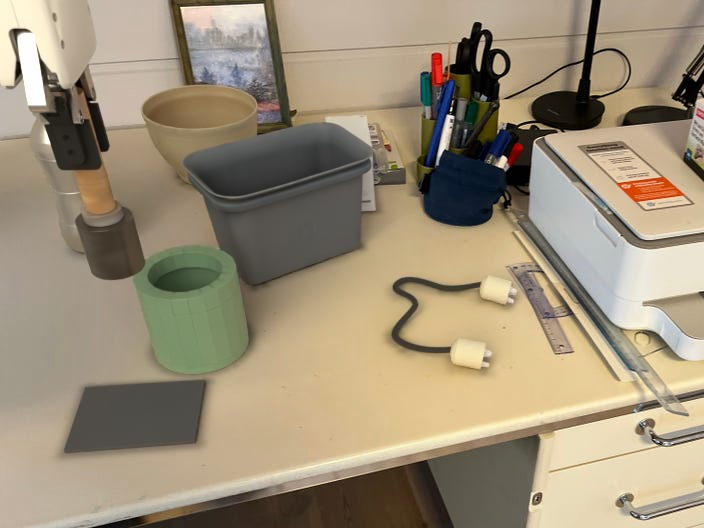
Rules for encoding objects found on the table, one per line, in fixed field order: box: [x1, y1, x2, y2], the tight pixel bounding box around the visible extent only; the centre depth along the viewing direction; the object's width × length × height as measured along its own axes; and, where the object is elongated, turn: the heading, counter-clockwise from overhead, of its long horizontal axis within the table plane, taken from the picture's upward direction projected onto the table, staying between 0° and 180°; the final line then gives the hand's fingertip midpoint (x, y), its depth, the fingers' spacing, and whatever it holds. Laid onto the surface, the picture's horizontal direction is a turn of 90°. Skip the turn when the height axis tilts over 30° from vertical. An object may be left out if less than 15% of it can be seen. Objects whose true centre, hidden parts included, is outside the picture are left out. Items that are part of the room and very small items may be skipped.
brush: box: [51, 87, 146, 281], centre depth 63 cm, size 5×5×16 cm
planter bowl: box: [140, 84, 259, 185], centre depth 113 cm, size 16×16×11 cm
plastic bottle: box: [28, 112, 85, 254], centre depth 93 cm, size 6×7×20 cm
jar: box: [132, 244, 250, 375], centre depth 82 cm, size 10×10×10 cm
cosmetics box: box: [324, 114, 377, 212], centre depth 110 cm, size 10×6×10 cm, turn 11°
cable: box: [391, 274, 518, 370], centre depth 90 cm, size 16×16×4 cm
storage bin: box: [181, 121, 375, 286], centre depth 96 cm, size 21×16×14 cm
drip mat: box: [63, 379, 206, 454], centre depth 76 cm, size 12×9×1 cm
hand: (85, 157), depth 61 cm, fingers closed on brush, 2 cm apart
